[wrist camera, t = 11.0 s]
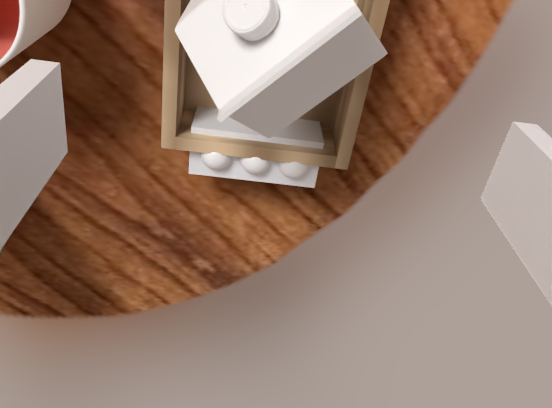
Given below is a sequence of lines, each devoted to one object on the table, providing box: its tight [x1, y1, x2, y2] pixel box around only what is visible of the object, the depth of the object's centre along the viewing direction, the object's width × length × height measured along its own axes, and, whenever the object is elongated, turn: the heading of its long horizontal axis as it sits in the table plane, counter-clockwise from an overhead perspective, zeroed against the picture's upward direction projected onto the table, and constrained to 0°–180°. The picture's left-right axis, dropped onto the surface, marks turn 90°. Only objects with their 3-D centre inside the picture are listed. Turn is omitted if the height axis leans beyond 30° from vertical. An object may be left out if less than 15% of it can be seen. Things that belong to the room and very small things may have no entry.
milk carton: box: [175, 0, 388, 138], centre depth 28 cm, size 7×7×19 cm
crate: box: [161, 0, 390, 170], centre depth 36 cm, size 14×18×6 cm
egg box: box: [189, 106, 324, 188], centre depth 40 cm, size 10×4×5 cm, turn 82°
